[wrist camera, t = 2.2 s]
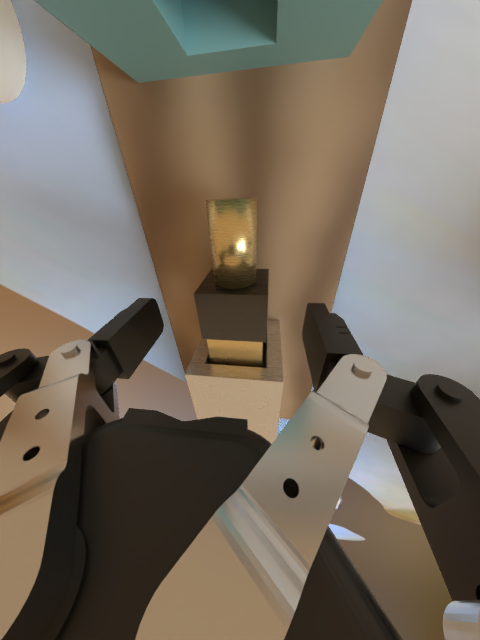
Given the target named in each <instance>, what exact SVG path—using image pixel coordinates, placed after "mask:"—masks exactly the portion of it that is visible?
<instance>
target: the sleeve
mask: <svg viewBox="0 0 480 640" xmlns="http://www.w3.org/2000/svg"><path fill="white" fill-rule="evenodd" d="M185 378H186V381H187V384H188V388H189V391H190V395H191V398H192V402H193V405H194V408H195V412H196V415H197V418H198V419H204V418H211V417H228V418H238V419H248V429H249V430H251V431H254V432H256V433H257V434H259V435H261V436H262V437H264V438H265V439H266V440H268V441H269V442H270V443H271V444H272V443H273V442H274V441H275V439H276V437H277V430H278V422H279V414H280V407H281V399H282V392H283V384H284V379H283V364H282V350H281V336H280V321H279V320H272V319H267V334H266V342H263V358H262V368H260V367H245V366H231V365H217V364H211V361H210V356H209V350H208V344H207V339H202V338H201V340H200V342H199V344H198V346H197V349H196V351H195V353H194V355H193V357H192V360H191V362H190V364H189V366H188V368H187V370H186V373H185Z"/></svg>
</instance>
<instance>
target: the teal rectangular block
mask: <svg viewBox="0 0 480 640" xmlns="http://www.w3.org/2000/svg"><path fill="white" fill-rule="evenodd" d="M34 1H36V2H37V3H38V4H39V5H41V6H42V7H43V8H44V9H46V10H47V11H48V12H50V13H51V14H52V15H53V16H55V17H56V18H57V19H58V20H60V21H61V22H62V23H63V24H65V25H66V26H67V27H68V28H70V29H71V30H72V31H74V32H75V33H76V34H77V35H79V36H80V37H81V38H82V39H84V40H85V41H86V42H87V43H89V44H90V45H91V46H92V47H94V48H95V49H96V50H97V51H99V52H100V53H101V54H103V55H104V56H105V57H106V58H108V59H109V60H110V61H111V62H113V63H114V64H115V65H116V66H118V67H119V68H120V69H121V70H123V71H124V72H125V73H126V74H128V75H129V76H130V77H132V78H133V79H134V80H135V81H137V82H138V83H142V82H150V81H158V80H166V79H174V78H182V77H190V76H198V75H206V74H214V73H222V72H230V71H238V70H246V69H254V68H262V67H270V66H278V65H286V64H294V63H302V62H310V61H318V60H326V59H334V58H342V57H349V56H350V55H351V53H352V51H353V50H354V48H355V46H356V45H357V43H358V41H359V40H360V38H361V36H362V35H363V33H364V31H365V30H366V28H367V26H368V25H369V23H370V21H371V20H372V18H373V16H374V15H375V13H376V12H377V10H378V8H379V7H380V5H381V3H382V2H383V0H34Z"/></svg>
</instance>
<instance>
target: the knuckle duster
mask: <svg viewBox="0 0 480 640" xmlns="http://www.w3.org/2000/svg"><path fill="white" fill-rule="evenodd" d="M26 69H27V64H26V52H25V46H24V40H23V36H22V32H21V28H20V25H19V22H18V19H17V16H16V13H15V10H14V8H13V5H12V3H11V0H0V103H8V102H11V101H13V100H15V99H16V98H17V97H18V96H19V94H20V93H21V91H22V89H23V87H24V84H25V79H26Z"/></svg>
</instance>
